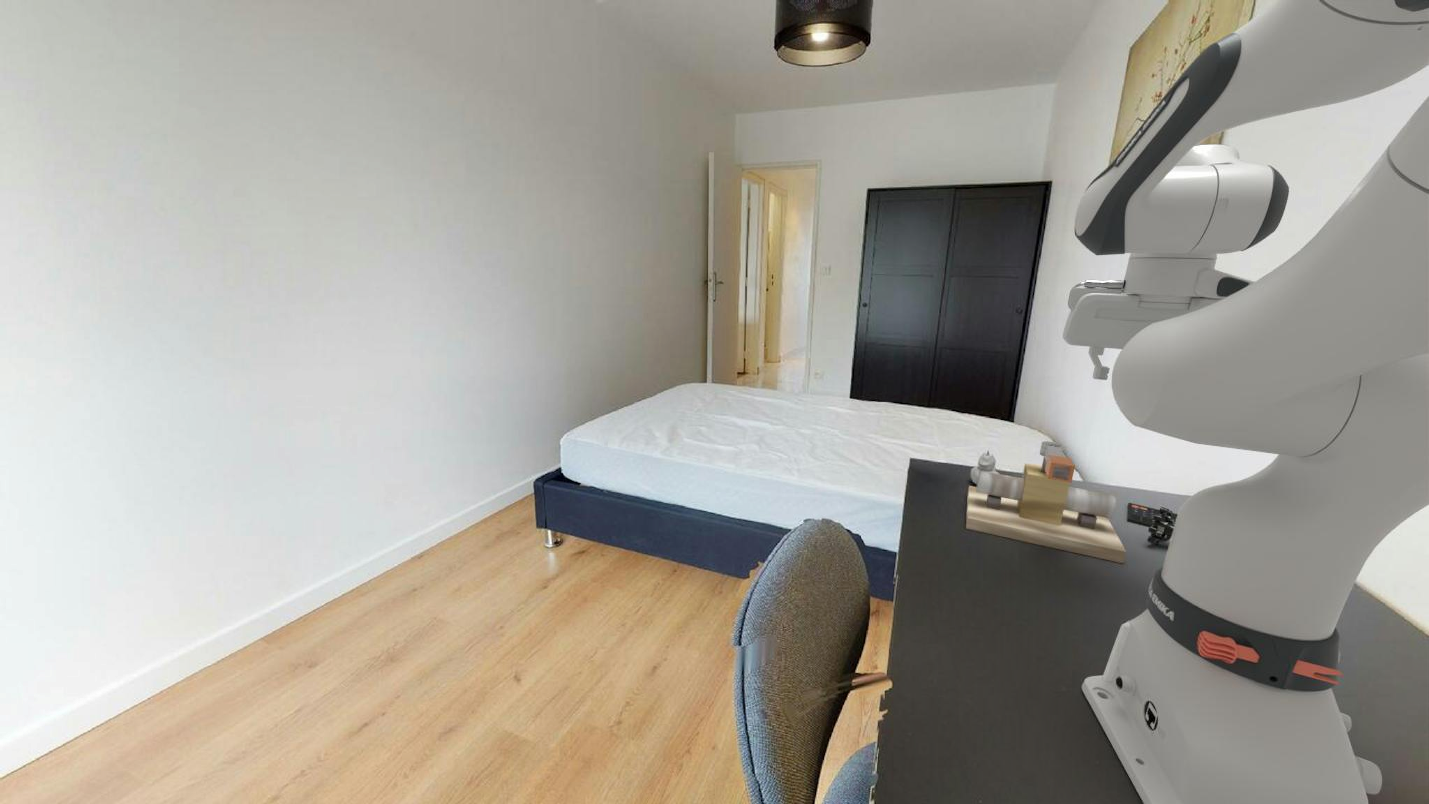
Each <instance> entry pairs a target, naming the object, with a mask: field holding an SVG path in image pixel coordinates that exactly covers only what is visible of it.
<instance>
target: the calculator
mask: <svg viewBox="0 0 1429 804" xmlns="http://www.w3.org/2000/svg"><path fill="white" fill-rule="evenodd" d="M1159 510H1160V509H1156V508H1153V507H1149V506H1144V505H1141V504H1136V503H1132V502H1128V504H1127V513H1126V522H1127V523H1131V524H1135V525H1139V526H1142V527H1147V528H1149V527H1150V526H1153V524H1154V520H1153V517H1154V515H1155V514H1158V515H1159ZM1177 515H1178V513H1174V512H1173V514H1172V516H1169V515H1168V518H1171V519H1173V520H1175V521H1176V518H1177ZM1161 522H1162V521H1161ZM1171 524H1172V523H1171Z"/></svg>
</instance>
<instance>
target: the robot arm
mask: <svg viewBox="0 0 1429 804" xmlns="http://www.w3.org/2000/svg"><path fill="white" fill-rule="evenodd" d="M1426 67H1429V0H1274V1H1272V2H1271V3H1270V4H1269V5H1268V6H1267V7H1266V8H1264V9H1263V10H1261V12H1259V13H1258V14H1256V16H1255V17H1253V18H1252V19H1250V20H1249V21H1248V22H1246V23H1245V24H1244V25H1242V26H1240V27H1239V28H1238V29H1237V30H1235V31H1233V32H1232V33H1230V34H1227V35H1226V36H1224V37H1222V38H1220V39H1219V40H1217V41H1215V42H1213V43H1211V44H1210V45H1208V46H1207V47H1206V48H1205V49H1203V50H1202V52H1201V53H1199V55H1198V56H1197V57H1195V59H1194V60H1193V61H1192V62H1191V63H1190V65H1189V66H1188V67H1187V68H1186V69H1185V70H1184V71H1183V73H1182V74H1181V75H1180V76H1179V78H1177V80H1176V81H1175V82H1174V83H1173V85H1172V86H1170V88H1169V90H1168V91H1167V92H1166V93H1165V95H1164V96H1163V97H1162V98H1161V99H1160V100H1159V102H1158V103H1157V105H1156V106H1155V107H1154V108H1153V110H1152V111H1151V112H1150V114H1149V115H1148V116H1147V117H1146V119H1145V120H1144V122H1142V124H1141V125H1140V126H1139V128H1138V129H1137V131H1136V132H1135V133H1134V134H1133V135H1132V137H1131V138H1130V139H1129V140H1128V142H1127V143H1126V144H1125V146H1124V147H1123V148H1122V149H1121V151H1120V152H1119V154H1117V156H1116V157H1115V159H1113V161H1112V162H1111V163H1110V164H1109V165H1108V166H1107V167H1106V168H1105V169H1103V170H1102V171H1101V172H1100V173H1099V174H1098V175H1097V176H1096V177H1095V178H1094V179H1093V180H1092V181H1091V182H1090V183H1089V184H1088V186H1087V187H1086V189H1085V190H1084V193H1083V195H1082V196H1081V198H1080V200H1079V203H1078V206H1077V209H1076V212H1075V217H1074V235H1075V238H1077V240H1078V241H1079V242H1080V243H1081V244H1082V245H1083V246H1084V247H1085V249H1087V250H1089V252H1091V253H1093V255H1095V256H1108V255H1109V256H1110V255H1112V256H1114V255H1125V254H1129V257H1128V261H1127V265H1126V269H1125V275H1124V278H1123V280H1113V279H1112V280H1111V279H1110V280H1107V279H1106V280H1097V279H1085V281H1084V282H1079V283H1077V284H1075V285H1074V286H1073V287H1072V288H1071V290H1070V291H1069V296H1068V300H1067V306H1068V309H1069V310H1070V311H1069V314H1068V316H1067V319H1066V322H1065V324H1064V327H1063V328H1064V329H1063V333H1062V339H1063V340H1064V342H1065V343H1067V344H1068V345H1070V346H1079V347H1089V348H1088V356H1089V357H1090V360H1091V361H1092V364H1093V366H1094V367H1093V373H1092V378H1093V379H1094V380H1099V381H1100V380H1102V381H1107V380H1108V379H1109V374H1110V368H1109V367H1108V366H1104V365H1102V362H1101V359H1100V357H1099V356H1104V352H1105V349H1116V350H1121V351H1120V353H1119V354H1118V356H1117V357H1116V360H1115V361H1114V365H1113V368H1112V373H1111V390H1112V395H1113V398H1114V401H1115V404H1116V405H1117V408H1119V410H1120V412H1121V414H1122V415H1123V416H1124V417H1125V418H1126V420H1127V421H1128V422H1129V423H1130V424H1131V425H1133V426H1135V427H1138V428H1141V429H1144V430H1147V431H1152V432H1154V433H1157V434H1161V435H1164V436H1167V437H1171V438H1175V439H1178V440H1181V441H1186V442H1188V443H1193V444H1196V445H1204V446H1212V447H1220V448H1228V449H1236V450H1243V451H1250V452H1257V453H1258V452H1259V453H1264V454H1265V453H1267V454H1274V455H1277V456H1276V457H1275V458H1274V460H1273V461H1272V462H1271V463H1269V464H1268V465H1267V466H1266V467H1264V468H1263V469H1262V470H1259V471H1257V472H1256V473H1254V474H1252V475H1251V476H1249V477H1245V478H1243V479H1240V480H1237V481H1233V482H1227V483H1222V484H1218V485H1213V486H1209V487H1207V488H1204V489H1202V490H1199V491H1198V492H1196V493H1194V494H1193V495H1192V496H1190V497H1189V498H1188V499H1187V500H1186V501H1185V502H1184V503H1183V504H1182V505H1181V506H1180V508H1179V510H1178V512H1177V514H1178V515H1177V518H1176V522H1175V526H1174V529H1173V533H1172V536H1171V539H1170V540H1169V544H1168V547H1167V551H1166V556H1165V558H1164V562H1163V565H1162V566H1161V567H1160V568H1158V569H1157V570H1156V572H1155V573H1154V576H1153V579H1151V581H1150V583H1149V587H1148V596H1147V598H1146V609H1145V610H1144V611H1143V612H1142V613H1140V614H1139V615H1138V616H1136V617H1134V618H1132V619H1130V620H1128V621H1126V622H1125V623H1122V624H1121V625H1120V628H1119V631H1118V633H1117V636H1116V638H1115V641H1114V644H1113V647H1112V649H1111V652H1110V655H1109V658H1108V660H1107V664H1106V666H1105V669H1104V671H1103V674H1102V675H1092V676H1087V677H1085V679H1084V681H1083V682H1082V685H1081V691H1082V692H1083V694H1084V697H1085V698H1086V700H1087V701H1088V703H1089V705H1090V707H1091V709H1092V711H1093V713H1094V714H1095V717H1096V718H1097V720H1098V722H1099V724H1100V725H1101V727H1102V729H1103V732H1105V734H1106V736H1107V738H1108V741H1109V743H1110V744H1111V745H1112V748H1113V750H1114V752H1115V753H1116V756H1117V757H1118V759H1119V761H1120V763H1121V765H1122V766H1123V768H1124V770H1125V771H1126V773H1127V775H1128V777H1129V779H1130V780H1131V782H1132V785H1133V787H1134V789H1135V790H1136V792H1137V793H1138V796H1139V797H1140V799H1141V801H1142V803H1143V804H1369V798H1368V795H1378V794H1379V793H1380V791H1381V789H1382V787H1383V775H1382V771H1381V770H1380V769H1381V768H1380V767H1379V766H1378V765H1377V764H1376V763H1374V762H1372V761H1370V760H1367V759H1364V758H1362V757H1359V756H1357V755H1355V753H1354V750H1353V747H1352V745H1351V741H1350V737H1349V734H1348V733H1349V732H1351V729H1352V718H1351V717H1350V715H1348V714H1346V713H1344V712H1341V711H1340V709H1339V705H1338V704H1337V700H1336V698H1335V694H1334V692H1333V687H1335V686H1336V685H1339V682H1338V676H1342V675H1343V673H1342V672H1341V671H1340V670H1338V667H1339V664H1338V663H1340V662H1341V650H1340V649H1339V647H1340V633H1339V630H1338V629H1337V627H1336V626H1337V624H1338V621H1339V619H1340V616H1341V614H1342V611H1343V609H1344V607H1345V605H1346V602H1347V600H1348V598H1349V596H1350V593H1351V591H1352V589H1353V588H1354V584H1355V583H1356V580H1357V579H1358V577H1359V575H1360V573H1361V572H1362V570H1363V567H1364V566H1365V564H1366V562H1367V561H1368V559H1369V557H1370V556H1371V554H1372V553H1373V551H1374V550H1376V548H1377V546H1378V545H1379V544H1380V543H1381V542H1382V541H1383V540H1384V539H1385V538H1386V537H1388V535H1389V534H1390V533H1392V531H1393V530H1395V529H1396V528H1397V527H1398V526H1400V524H1403V522H1405V521H1406V520H1408V519H1409V518H1410V517H1412V516H1413V515H1415V514H1416V513H1418V512H1420V510H1423V509H1424V508H1426V507H1427V506H1429V95H1428V97H1426V99H1425V100H1424V101H1423V102H1422V103H1421V105H1420V106H1419V107H1418V108H1417V109H1416V110H1415V112H1414V113H1413V114H1412V116H1410V118H1409V119H1408V120H1407V122H1406V123H1405V124H1404V126H1403V127H1402V128H1401V129H1400V130H1399V132H1398V133H1397V134H1396V135H1395V137H1393V139H1392V141H1391V142H1390V143H1389V144H1388V146H1387V148H1386V149H1385V150H1384V152H1383V153H1382V154H1381V156H1380V157H1379V158H1378V159H1377V161H1376V162H1375V163H1374V164H1373V165H1372V167H1371V168H1370V169H1369V170H1368V172H1367V173H1366V174H1365V175H1364V177H1363V178H1362V180H1360V182H1359V183H1358V184H1357V186H1355V188H1354V189H1353V190H1352V192H1351V193H1350V194H1349V196H1348V197H1347V198H1346V199H1345V200H1344V201H1343V202H1342V204H1341V205H1340V206H1339V207H1338V209H1337V210H1336V211H1335V212H1334V213H1333V214H1332V216H1331V217H1330V218H1329V219H1328V220H1327V221H1326V223H1325V224H1324V225H1323V226H1322V227H1321V228H1320V229H1319V231H1318V232H1317V233H1316V234H1315V235H1314V236H1313V237H1312V238H1311V239H1310V240H1309V241H1307V243H1306V244H1305V245H1304V246H1302V248H1300V249H1299V250H1298V251H1297V252H1296V253H1294V254H1293V255H1292V256H1291V257H1289V258H1288V259H1287V260H1286V261H1284V262H1283V263H1281V264H1280V265H1279V266H1277V267H1276V268H1274V269H1273V270H1271V271H1270V272H1269V273H1266V274H1265V275H1263V276H1262V277H1260V278H1258V279H1257V280H1256V281H1255V280H1253V279H1247V278H1244V277H1241V276H1237V275H1234V274H1231V273H1228V272H1225V271H1224V272H1223V271H1220V270H1217V269H1216V268H1215V267H1216V263H1217V260H1218V259H1217V258H1218V257H1217V256H1218V254H1219V255H1221V254H1223V255H1224V254H1232V253H1236V252H1244V251H1246V250H1248V249H1250V248H1252V247H1254V246H1256V245H1258V244H1259V243H1261V242H1262V241H1263V240H1265V239H1266V238H1268V237H1269V236H1270V235H1272V234H1273V233H1274V232H1275V231H1276V230H1277V228H1278V227H1279V225H1280V223H1281V221H1282V218H1283V217H1284V213H1285V211H1286V206H1287V204H1288V200H1289V199H1288V198H1289V194H1290V193H1289V192H1290V187H1289V185H1288V183H1287V181H1286V180H1285V178H1284V177H1283V175H1282V174H1281V173H1280V171H1278V170H1277V169H1276V168H1274V167H1273V166H1271V165H1268V164H1267V165H1264V164H1258V163H1252V162H1249V161H1248V162H1247V161H1243V160H1241V159H1240V153H1239V151H1238V149H1237V148H1235V147H1233V146H1231V145H1228V144H1224V143H1223V144H1221V143H1204V144H1200V143H1201V142H1204V141H1205V140H1207V139H1209V138H1211V137H1213V136H1216V135H1218V134H1220V133H1223V132H1225V131H1227V130H1230V129H1234V128H1237V127H1240V126H1243V125H1247V124H1250V123H1255V122H1257V121H1261V120H1265V119H1270V118H1273V117H1277V116H1278V117H1279V116H1282V115H1286V114H1291V113H1295V112H1299V111H1300V112H1301V111H1305V110H1309V109H1315V108H1319V107H1324V106H1330V105H1334V104H1339V103H1343V102H1348V101H1351V100H1355V99H1359V98H1361V97H1364V96H1367V95H1371V94H1373V93H1376V92H1380V91H1381V90H1385V89H1387V88H1390V87H1391V86H1394V85H1396V84H1398V83H1400V82H1403V81H1404V80H1406V79H1408V78H1410V77H1412V76H1413V75H1415V74H1418V73H1419V72H1421V71H1422V70H1423V69H1425V68H1426ZM1082 286H1083V287H1082ZM1367 794H1368V795H1367Z"/></svg>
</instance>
